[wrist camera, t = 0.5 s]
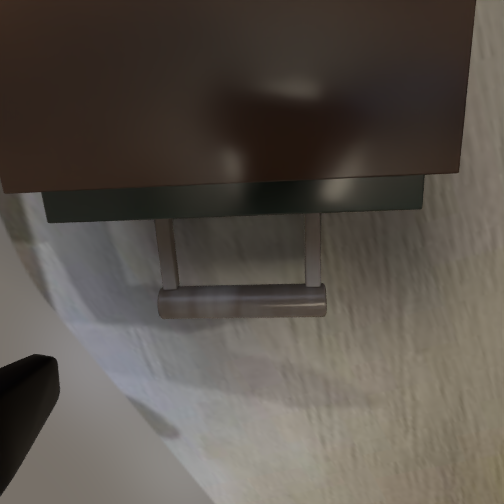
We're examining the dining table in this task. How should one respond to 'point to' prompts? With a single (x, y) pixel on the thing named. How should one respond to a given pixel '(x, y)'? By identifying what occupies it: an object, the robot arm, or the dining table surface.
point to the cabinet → (229, 91)
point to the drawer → (238, 204)
